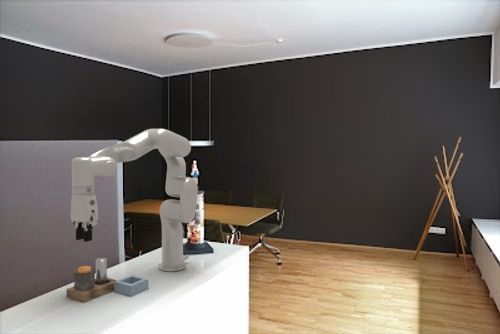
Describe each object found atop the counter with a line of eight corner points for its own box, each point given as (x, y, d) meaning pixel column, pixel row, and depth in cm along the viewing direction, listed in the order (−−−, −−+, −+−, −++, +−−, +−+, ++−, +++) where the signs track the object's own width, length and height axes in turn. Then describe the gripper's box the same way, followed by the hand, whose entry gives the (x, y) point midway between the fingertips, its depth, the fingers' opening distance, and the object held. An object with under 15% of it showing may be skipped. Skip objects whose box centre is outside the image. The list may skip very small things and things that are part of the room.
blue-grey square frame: (132, 284, 155) (132, 274, 155) (148, 288, 150) (148, 278, 150) (114, 291, 147) (114, 281, 147) (131, 296, 143) (130, 286, 142)
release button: (85, 284, 145) (85, 265, 145) (93, 286, 143) (93, 267, 143) (75, 288, 142) (75, 268, 141) (83, 290, 139) (83, 270, 139)
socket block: (102, 283, 156) (102, 261, 155) (119, 288, 151) (119, 265, 150) (66, 296, 142) (66, 273, 141) (84, 302, 137) (83, 277, 136)
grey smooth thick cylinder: (102, 287, 152) (102, 257, 151) (109, 288, 150) (108, 258, 149) (93, 290, 148) (93, 259, 148) (100, 292, 146) (100, 261, 146)
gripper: (107, 191, 140) (107, 241, 141) (77, 188, 148) (78, 235, 149) (89, 193, 133) (90, 245, 134) (59, 190, 141) (60, 239, 142)
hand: (84, 239), depth 141 cm, fingers open, 3 cm apart
